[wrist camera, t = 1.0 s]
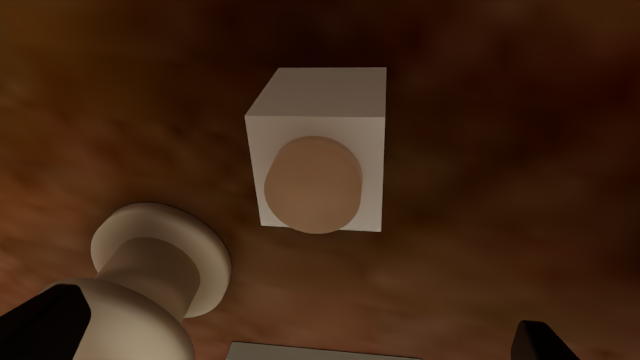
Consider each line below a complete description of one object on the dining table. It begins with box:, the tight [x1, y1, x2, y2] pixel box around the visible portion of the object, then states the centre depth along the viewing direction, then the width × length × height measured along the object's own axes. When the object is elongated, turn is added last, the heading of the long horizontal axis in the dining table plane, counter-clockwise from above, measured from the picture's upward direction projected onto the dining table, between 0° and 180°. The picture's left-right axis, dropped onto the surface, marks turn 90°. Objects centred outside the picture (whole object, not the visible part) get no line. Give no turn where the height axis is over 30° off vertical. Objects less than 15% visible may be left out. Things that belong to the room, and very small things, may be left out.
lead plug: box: [245, 67, 386, 234], centre depth 14 cm, size 4×4×6 cm
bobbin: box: [39, 203, 232, 360], centre depth 20 cm, size 7×7×6 cm
